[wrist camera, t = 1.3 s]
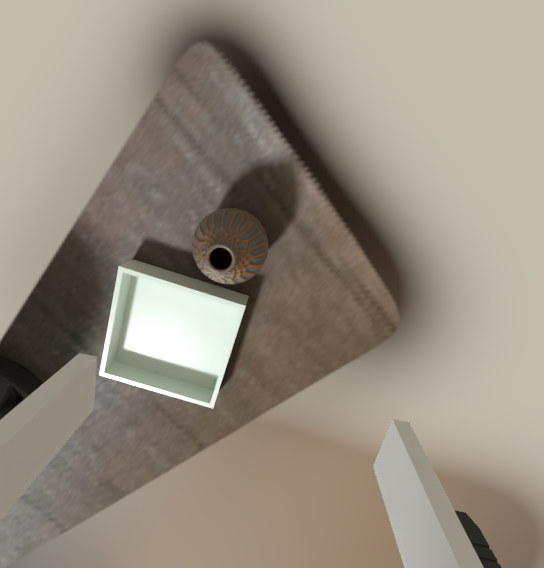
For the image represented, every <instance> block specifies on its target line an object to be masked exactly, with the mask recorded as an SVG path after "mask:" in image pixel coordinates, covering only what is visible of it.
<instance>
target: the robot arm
mask: <svg viewBox="0 0 544 568" xmlns="http://www.w3.org/2000/svg"><path fill="white" fill-rule="evenodd" d="M96 366H97V357H95V356H91V355H86V354H81V353H79V354H78V355H76V356H75V357H74V358H73V359H72V360H71V361H69V362H68V363H67V364H66V365H65V366H63V367H62V368H61V369H60V370H59V371H58V372H56V373H55V374H54V375H53V376H52V377H50V378H49V379H48V380H47V381H46V382H45V383H43V384H41V383H40V382H39V381H38V380H37V379H36V378H35V377H34V376H33V375H32V374H30V373H29V372H28V371H26V370H25V369H23V368H22V367H20V366H19V365H17V364H15V363H13V362H11V361H8V360H6V359H3V358H0V521H1V520H2V519H3V518H4V517H5V515H6V514H7V513H8V512H9V511H10V509H11V508H12V507H13V506H14V505H15V503H16V502H17V501H18V500H19V499H20V497H21V496H22V495H23V494H24V493H25V491H26V490H27V489H28V488H29V487H30V485H31V484H32V483H33V482H34V481H35V479H36V478H37V477H38V476H39V475H40V473H41V472H42V471H43V470H44V469H45V467H46V466H47V465H48V464H49V462H50V461H51V460H52V459H53V458H54V456H55V455H56V454H57V453H58V452H59V450H60V449H61V448H62V447H63V446H64V444H65V443H66V442H67V441H68V440H69V438H70V437H71V436H72V435H73V434H74V432H75V431H76V430H77V429H78V428H79V426H80V425H81V424H82V423H83V422H84V420H85V419H86V418H87V417H88V416H89V414H90V413H91V412H92V411H93V410H94V398H95V382H96ZM373 468H374V471H375V474H376V477H377V480H378V484H379V487H380V490H381V493H382V496H383V500H384V503H385V506H386V510H387V513H388V516H389V519H390V522H391V526H392V529H393V532H394V535H395V539H396V542H397V545H398V548H399V551H400V555H401V558H402V561H403V564H404V568H501V566H500V565H499V564H498V563H497V559H496V557H495V556H494V554H493V552H492V550H490V549H489V545H488V543H487V541H486V539H485V538H484V536H483V534H482V532H481V530H480V529H479V528H478V526H477V525H476V524H475V523H474V522H473V521H472V519H470V517H469V516H468V515H467V514H466V513H464V512H459V511H454V509H453V507H452V505H451V504H450V501H449V500H448V497H447V495H446V493H445V491H444V489H443V487H442V485H441V484H440V482H439V480H438V478H437V476H436V474H435V472H434V470H433V468H432V466H431V464H430V462H429V460H428V458H427V456H426V455H425V453H424V451H423V449H422V447H421V445H420V443H419V441H418V439H417V437H416V435H415V433H414V431H413V429H412V427H411V425H410V423H408V422H403V421H399V420H394V419H393V420H392V422H391V424H390V427H389V429H388V432H387V434H386V436H385V439H384V442H383V444H382V446H381V449H380V451H379V454H378V456H377V459H376V461H375V463H374V466H373Z"/></svg>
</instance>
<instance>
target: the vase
mask: <svg viewBox="0 0 544 568" xmlns="http://www.w3.org/2000/svg"><path fill="white" fill-rule="evenodd" d="M192 252H193V257H194V260H195V262H196V264H197V266H198V268H199V269H200V270H201V272H202V273H203V274H204V275H206V276H207V277H208V278H210V279H211V280H213V281H215V282H218V283H222V284H238V283H242V282H244V281H247V280H249V279H250V278H252V277H253V276H254V275H256V274H257V273H258V272H259V271H260V269H261V268H262V266H263V265H264V263H265V260H266V257H267V254H268V238H267V234H266V231H265V229H264V227H263V226H262V224H261V223H260V221H259V220H258V219H257V218H256V217H255V216H253V215H252V214H250V213H249V212H247V211H244V210H241V209H237V208H224V209H220V210H217V211H214V212H212V213H211V214H209V215H208V216H206V217H205V218H204V219H203V220H202V221H201V222H200V224H199V225H198V227H197V228H196V230H195V233H194V236H193V241H192Z"/></svg>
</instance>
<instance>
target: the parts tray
mask: <svg viewBox="0 0 544 568" xmlns="http://www.w3.org/2000/svg"><path fill="white" fill-rule="evenodd" d="M248 298H249V296H248V295H245V294H241V293H238V292H235V291H232V290H229V289H226V288H223V287H219V286H216V285H213V284H210V283H207V282H204V281H200V280H197V279H194V278H191V277H188V276H185V275H181V274H178V273H175V272H172V271H169V270H166V269H162V268H159V267H156V266H153V265H150V264H147V263H143V262H140V261H137V260H134V259H132V260H130V261H128V262H126V263H124V264H122V265H120V266H119V268H118V273H117V279H116V284H115V290H114V295H113V301H112V306H111V312H110V317H109V323H108V328H107V334H106V339H105V345H104V351H103V356H102V362H101V367H100V373H99V375H100V376H104V377H107V378H111V379H114V380H117V381H121V382H124V383H128V384H131V385H134V386H138V387H141V388H145V389H148V390H151V391H155V392H158V393H162V394H165V395H168V396H172V397H175V398H179V399H182V400H185V401H189V402H192V403H196V404H199V405H202V406H206V407H209V408H213V407H214V404H215V401H216V398H217V395H218V392H219V388H220V385H221V382H222V379H223V376H224V373H225V370H226V367H227V363H228V360H229V357H230V354H231V351H232V348H233V345H234V342H235V338H236V335H237V332H238V329H239V326H240V323H241V320H242V317H243V314H244V310H245V307H246V304H247V301H248Z"/></svg>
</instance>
